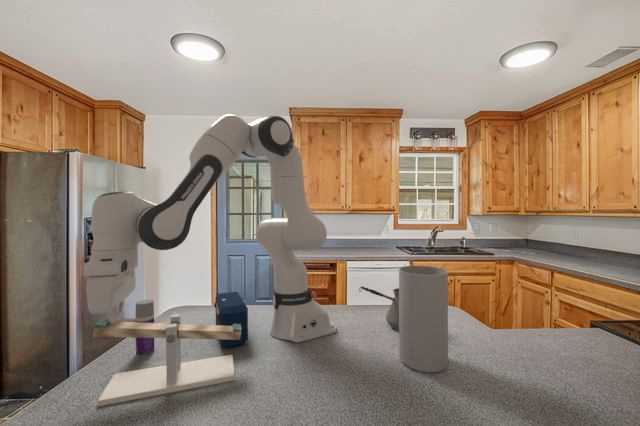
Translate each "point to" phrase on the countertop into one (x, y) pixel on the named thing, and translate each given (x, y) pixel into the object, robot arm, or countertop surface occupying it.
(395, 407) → the countertop surface
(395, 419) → the countertop surface
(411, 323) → the cylinder vase
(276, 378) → the countertop surface
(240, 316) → the radio
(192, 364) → the stand
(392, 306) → the coffee pot
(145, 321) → the container
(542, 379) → the countertop surface
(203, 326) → the beam
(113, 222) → the robot arm
